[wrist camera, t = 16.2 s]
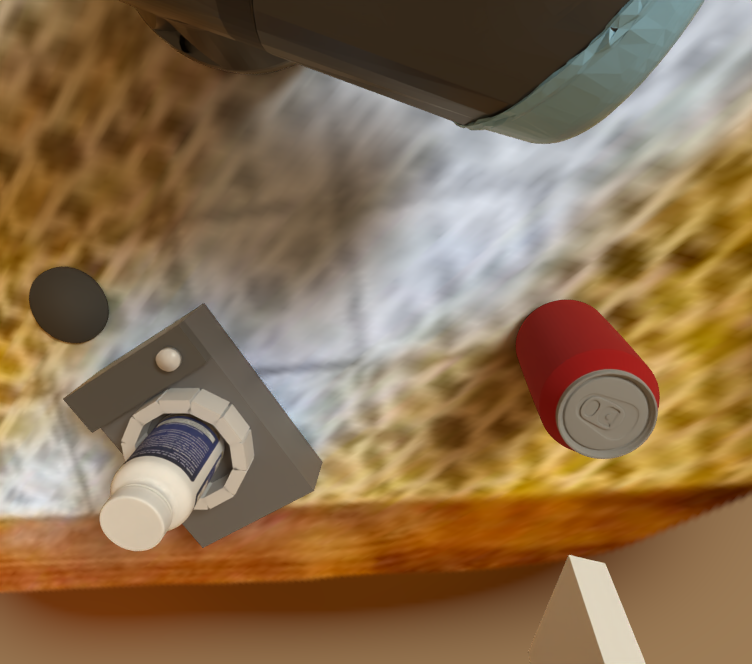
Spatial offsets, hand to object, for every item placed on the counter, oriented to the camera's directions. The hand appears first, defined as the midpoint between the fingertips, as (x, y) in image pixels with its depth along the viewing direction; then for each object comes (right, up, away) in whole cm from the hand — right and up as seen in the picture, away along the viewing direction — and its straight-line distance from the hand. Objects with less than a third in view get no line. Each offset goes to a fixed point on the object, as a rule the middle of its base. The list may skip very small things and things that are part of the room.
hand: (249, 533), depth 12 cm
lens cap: (-21, +6, +34) cm, 40 cm away
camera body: (-11, -3, +36) cm, 37 cm away
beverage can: (+16, +4, +31) cm, 35 cm away
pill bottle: (-11, -4, +32) cm, 34 cm away
